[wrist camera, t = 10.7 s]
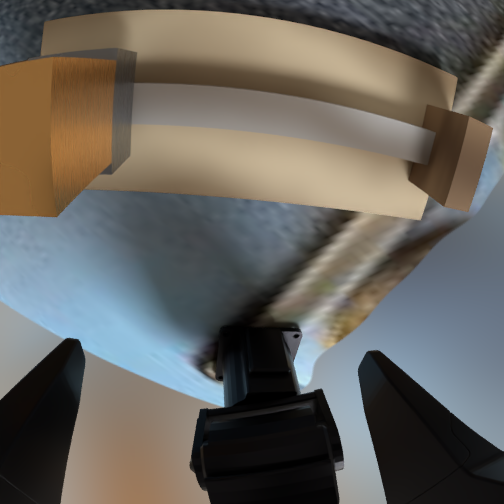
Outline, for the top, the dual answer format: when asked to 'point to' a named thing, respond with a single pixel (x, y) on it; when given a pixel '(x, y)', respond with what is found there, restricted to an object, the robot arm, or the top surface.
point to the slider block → (62, 126)
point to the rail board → (263, 70)
